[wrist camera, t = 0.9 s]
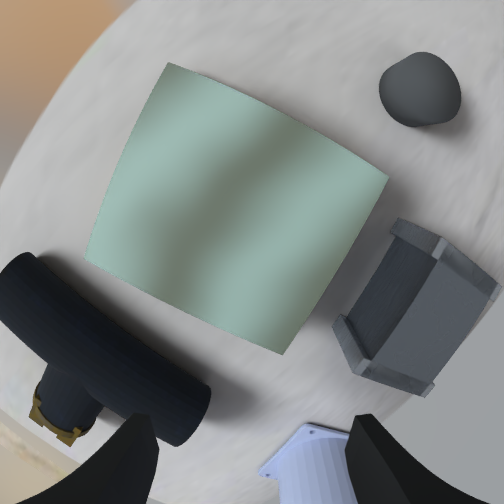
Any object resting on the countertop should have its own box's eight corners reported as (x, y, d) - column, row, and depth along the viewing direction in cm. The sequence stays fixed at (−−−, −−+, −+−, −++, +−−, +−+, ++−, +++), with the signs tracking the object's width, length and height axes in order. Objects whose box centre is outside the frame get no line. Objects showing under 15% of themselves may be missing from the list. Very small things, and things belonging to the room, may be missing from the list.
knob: (442, 90, 15) (468, 83, 13) (420, 139, 16) (447, 137, 13) (392, 53, 15) (414, 38, 12) (368, 102, 16) (389, 92, 13)
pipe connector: (128, 487, 18) (-26, 375, 16) (142, 443, 23) (7, 344, 21) (206, 424, 16) (-5, 266, 13) (214, 372, 21) (43, 243, 18)
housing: (398, 217, 18) (441, 237, 13) (457, 260, 18) (501, 286, 14) (331, 326, 20) (352, 372, 15) (396, 355, 20) (424, 397, 16)
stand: (371, 170, 17) (402, 173, 13) (279, 328, 20) (286, 365, 16) (182, 72, 15) (164, 49, 11) (105, 242, 18) (73, 262, 14)
